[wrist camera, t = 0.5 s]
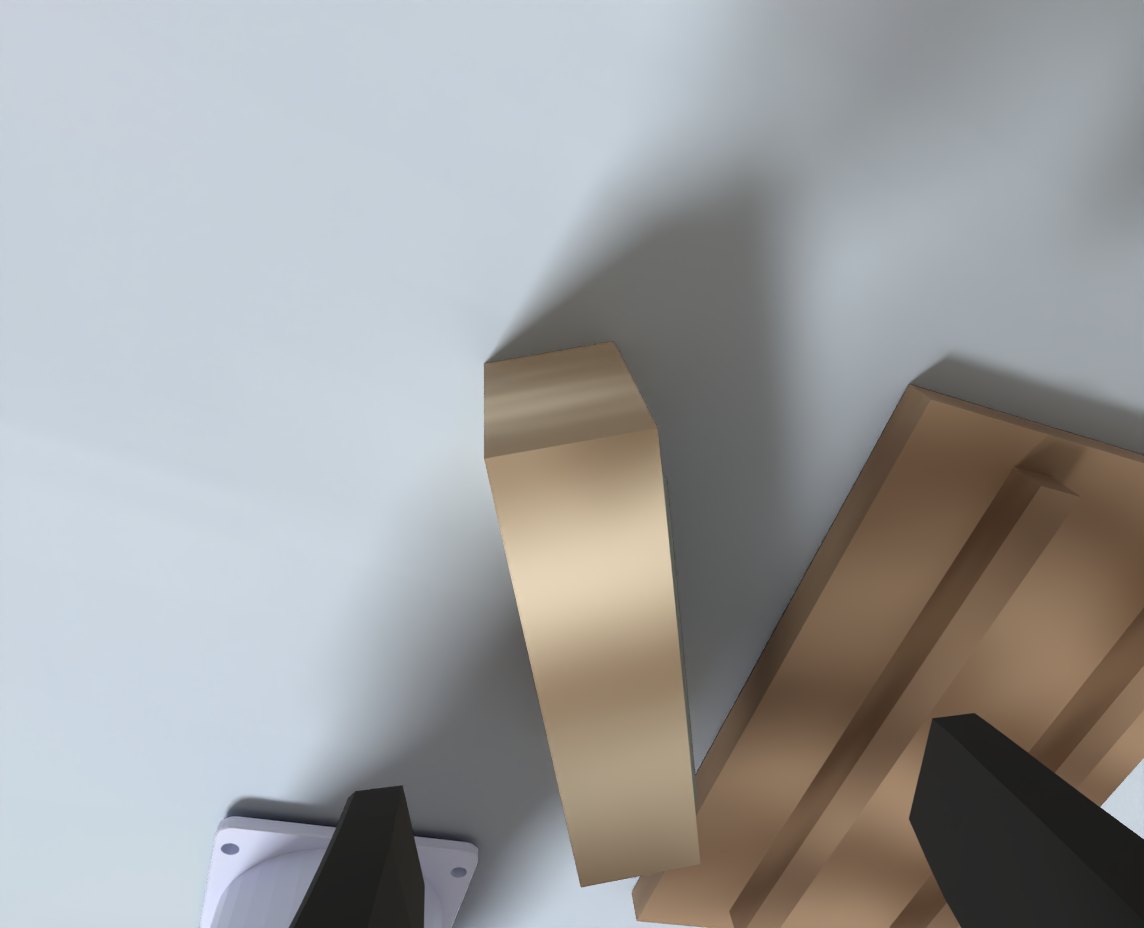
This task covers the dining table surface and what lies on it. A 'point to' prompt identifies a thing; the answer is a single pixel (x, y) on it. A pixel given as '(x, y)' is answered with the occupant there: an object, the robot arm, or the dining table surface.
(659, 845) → the beige long rectangular block
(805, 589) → the picture ledge
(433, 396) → the dining table surface
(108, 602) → the dining table surface
